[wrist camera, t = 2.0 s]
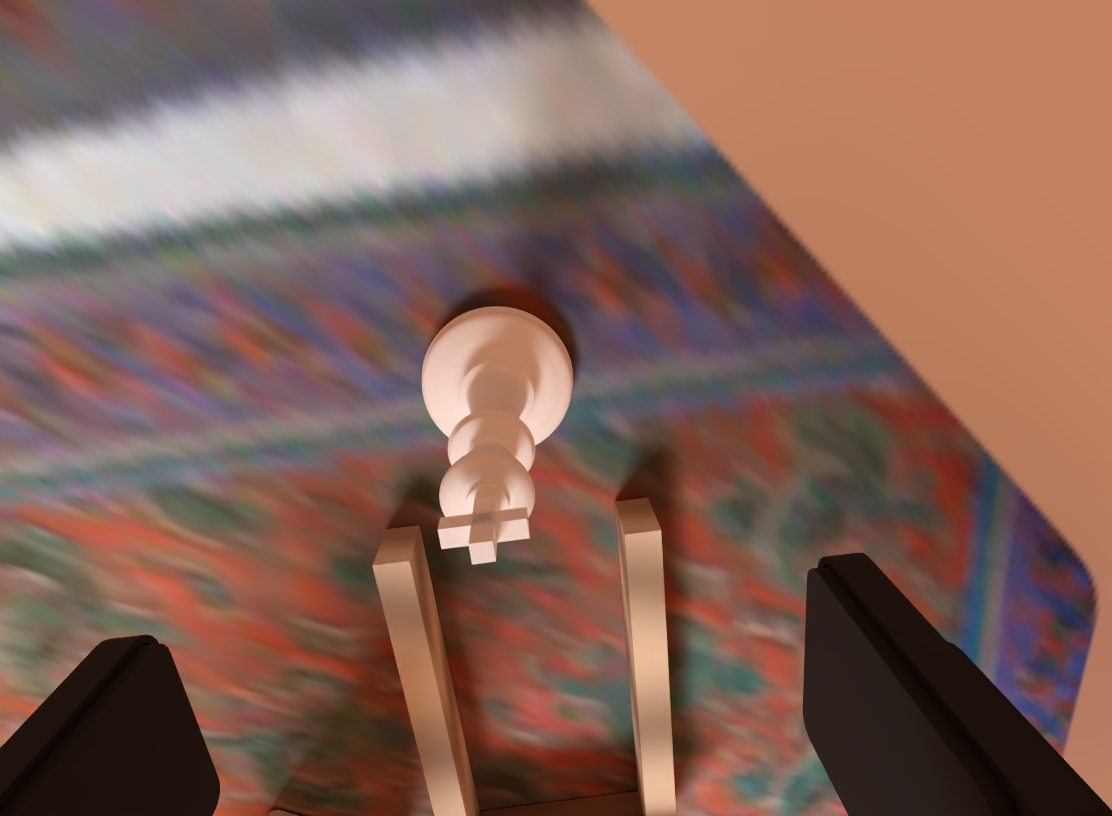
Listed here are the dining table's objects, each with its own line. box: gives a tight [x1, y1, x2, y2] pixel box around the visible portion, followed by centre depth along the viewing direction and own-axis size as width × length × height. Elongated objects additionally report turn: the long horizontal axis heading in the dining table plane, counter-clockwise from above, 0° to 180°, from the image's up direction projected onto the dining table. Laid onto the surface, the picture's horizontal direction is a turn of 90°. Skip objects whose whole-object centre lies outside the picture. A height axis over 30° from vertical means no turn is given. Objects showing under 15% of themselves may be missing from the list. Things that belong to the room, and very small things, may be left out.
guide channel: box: [372, 498, 676, 816], centre depth 23 cm, size 16×9×4 cm, turn 6°
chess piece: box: [422, 306, 573, 564], centre depth 16 cm, size 5×5×10 cm
